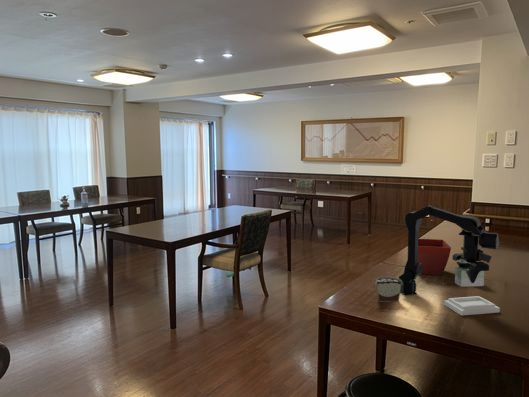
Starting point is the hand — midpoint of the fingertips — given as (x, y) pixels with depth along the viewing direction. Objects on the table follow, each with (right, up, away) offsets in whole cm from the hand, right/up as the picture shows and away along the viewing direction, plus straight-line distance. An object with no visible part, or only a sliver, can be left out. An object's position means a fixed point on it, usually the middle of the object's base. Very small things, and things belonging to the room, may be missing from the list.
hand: (469, 281), depth 173 cm
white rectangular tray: (+1, -12, 0) cm, 12 cm away
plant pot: (+4, -6, +53) cm, 53 cm away
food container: (-33, -11, +11) cm, 36 cm away
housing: (0, -2, 0) cm, 2 cm away
